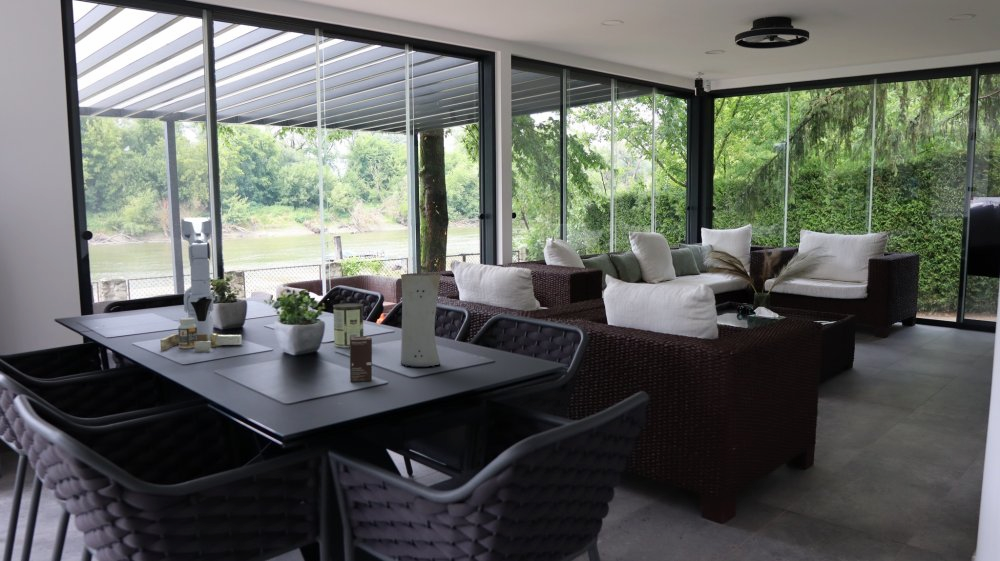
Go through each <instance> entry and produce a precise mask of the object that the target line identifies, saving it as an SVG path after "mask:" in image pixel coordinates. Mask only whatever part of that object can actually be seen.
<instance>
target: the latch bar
mask: <svg viewBox="0 0 1000 561" xmlns="http://www.w3.org/2000/svg"><path fill="white" fill-rule="evenodd" d="M242 339H243V338H242V334H218V333H216V334H210V336H209V338H208V341H211V345H221V346H224V345H225V346H229V345H231V346H233V345H234V346H236V345H237V346H240V345H241V344H242V343H243V342H242V341H243V340H242Z"/></svg>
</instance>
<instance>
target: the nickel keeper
mask: <svg viewBox="0 0 1000 561" xmlns="http://www.w3.org/2000/svg"><path fill="white" fill-rule="evenodd" d="M211 351H212V347H211V341H209V340H208V341H196V342H195V348H194V352H197V353H198V352H200V353H201V352H207V353H210V352H211Z"/></svg>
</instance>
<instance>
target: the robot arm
mask: <svg viewBox="0 0 1000 561" xmlns="http://www.w3.org/2000/svg"><path fill="white" fill-rule="evenodd" d="M180 226H181V237H182V240H184V241H186V242H188V246H187V248H188V259H189V267H190V287H189V288H187V289H186V290H184V293H183V308H184V309H183V312H185V313H186V314H187V315H188V317H187V318H195V322H194V324H195V325H196V326H197V334H208V339H209V336H210V334H217V333H214V324H213V322H214V321H213V316H212V314H211V312H213V311H214V296H213V291H212V289H211V275H210V269H211V268H210V261H211V256H212V254H211V252H212V251H211V245H210V242H208V240H210V239H211V237H212V231H213V230H212V219H211V218H210V216H209V217H182V218H181V219H180Z"/></svg>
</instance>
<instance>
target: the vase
mask: <svg viewBox="0 0 1000 561" xmlns="http://www.w3.org/2000/svg"><path fill="white" fill-rule="evenodd" d="M441 276H442V275H441V273H429V272H428V273H422V272H421V273H419V272H418V273H413V272H412V273H411V272H410V273H404V274H403V273H402V274H401V275H400V279H401V291H402V297H401V298H402V300H401V304H402V305H401V306H402V308H401V309H402V310H401V346H400V347H401V352H400V364H401V365H402V366H404V365H405V366H404V367H406V366H411V368H428V367H429V366H432V367H436V366H435V365H439V364H440V365H441V362H440V361H441V360H440V358H439V354H438V348H437V344H436V334H435V332H436V331H435V324H436V323H435V322H436V313H437V304H438V303H437V302H438V294H439V286H440V280H441ZM429 368H430V367H429Z"/></svg>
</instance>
